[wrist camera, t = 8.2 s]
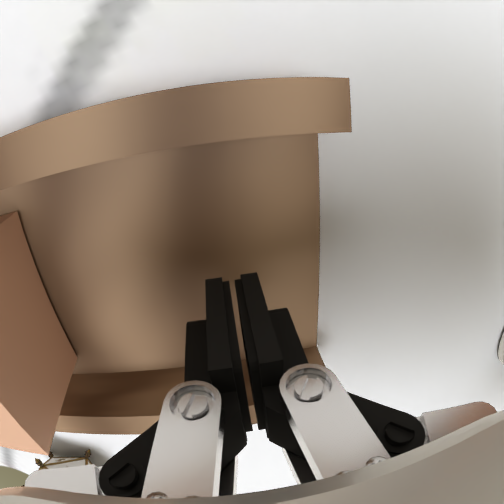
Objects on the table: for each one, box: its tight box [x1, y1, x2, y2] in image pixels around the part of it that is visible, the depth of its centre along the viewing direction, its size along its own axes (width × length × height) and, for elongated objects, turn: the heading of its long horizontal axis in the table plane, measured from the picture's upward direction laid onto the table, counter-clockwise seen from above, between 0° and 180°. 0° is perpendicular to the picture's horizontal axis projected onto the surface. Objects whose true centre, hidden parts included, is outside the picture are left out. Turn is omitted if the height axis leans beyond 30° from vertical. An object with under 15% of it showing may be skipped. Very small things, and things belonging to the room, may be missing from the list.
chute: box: [0, 77, 351, 434], centre depth 11 cm, size 22×14×5 cm, turn 95°
